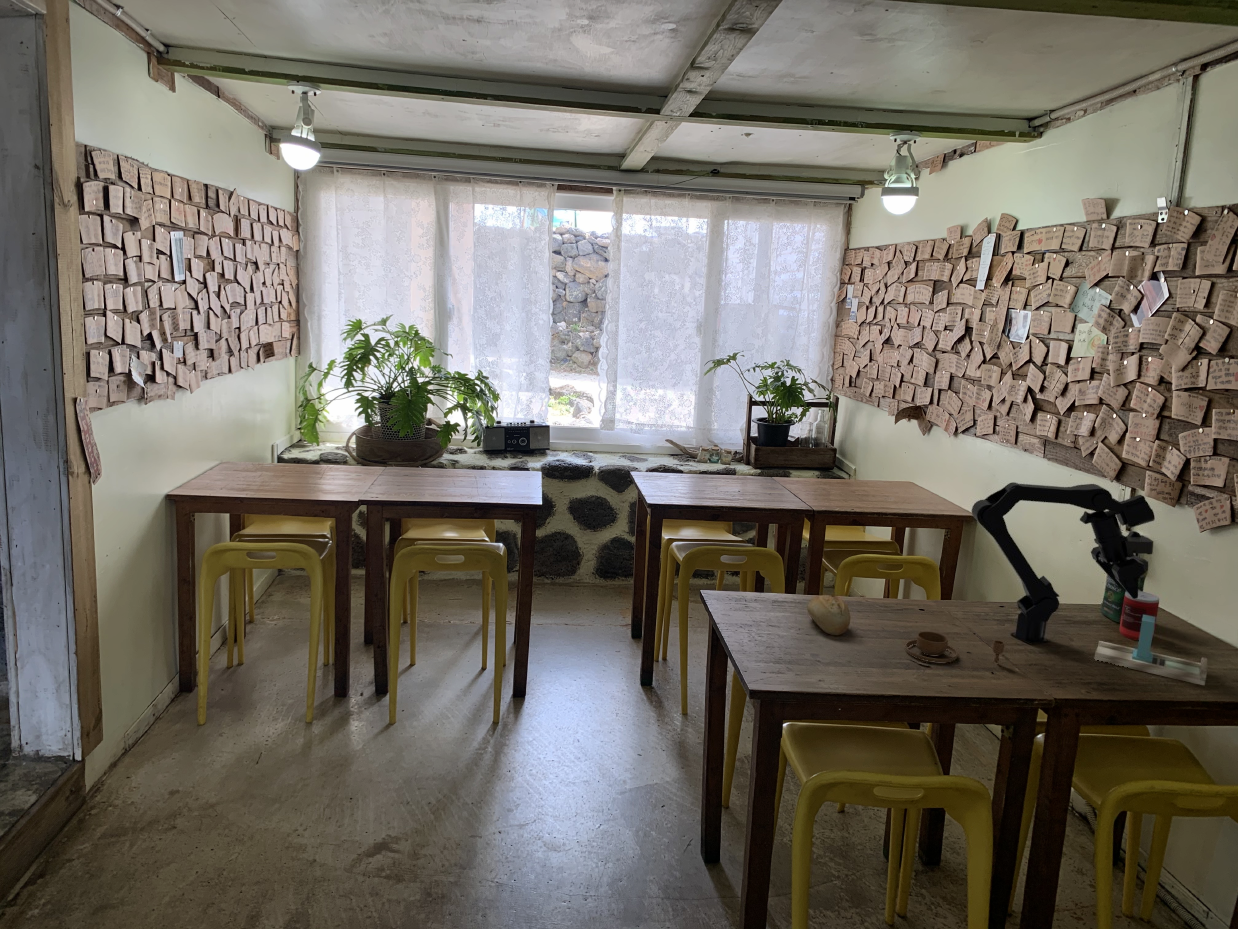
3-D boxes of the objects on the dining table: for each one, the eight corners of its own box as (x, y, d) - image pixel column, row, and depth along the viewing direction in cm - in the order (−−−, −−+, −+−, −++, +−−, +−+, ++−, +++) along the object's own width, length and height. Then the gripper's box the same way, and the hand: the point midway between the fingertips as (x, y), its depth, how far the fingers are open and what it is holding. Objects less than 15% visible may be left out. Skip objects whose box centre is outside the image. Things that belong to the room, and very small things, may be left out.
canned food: (1148, 632, 223) (1155, 592, 221) (1156, 643, 216) (1163, 602, 214) (1115, 628, 226) (1121, 588, 223) (1122, 638, 218) (1129, 598, 216)
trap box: (1094, 659, 204) (1096, 646, 203) (1098, 648, 211) (1100, 635, 210) (1204, 685, 192) (1207, 671, 191) (1204, 672, 199) (1207, 658, 198)
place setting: (925, 639, 214) (928, 617, 213) (1005, 665, 199) (1008, 642, 198) (889, 656, 202) (891, 633, 201) (971, 686, 188) (974, 661, 187)
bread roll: (832, 615, 227) (834, 587, 225) (858, 637, 212) (861, 606, 211) (798, 616, 225) (800, 588, 223) (822, 638, 210) (825, 608, 209)
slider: (1131, 660, 200) (1138, 620, 199) (1133, 652, 205) (1139, 613, 203) (1151, 664, 198) (1158, 624, 196) (1152, 656, 203) (1159, 617, 201)
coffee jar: (1094, 611, 237) (1104, 548, 234) (1122, 612, 238) (1132, 548, 234) (1116, 624, 228) (1126, 558, 224) (1144, 625, 228) (1155, 559, 225)
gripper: (1159, 533, 197) (1180, 594, 198) (1127, 514, 215) (1146, 570, 216) (1109, 548, 199) (1129, 608, 201) (1082, 528, 217) (1101, 584, 219)
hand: (1128, 592), depth 209 cm, fingers open, 9 cm apart
